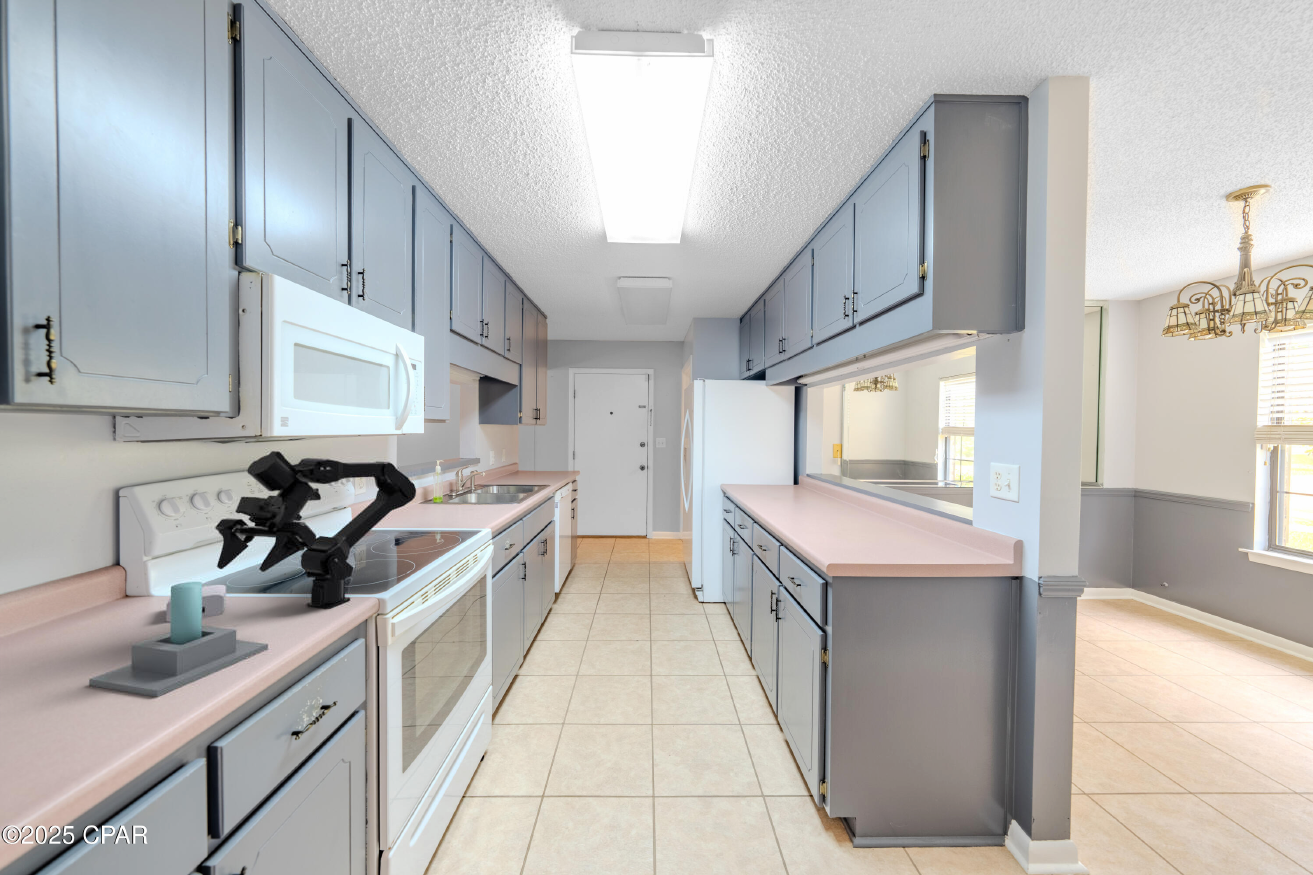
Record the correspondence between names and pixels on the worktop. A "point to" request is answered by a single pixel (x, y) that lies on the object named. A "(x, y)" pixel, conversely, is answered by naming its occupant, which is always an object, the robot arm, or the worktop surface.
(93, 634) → the worktop surface
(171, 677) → the socket holder
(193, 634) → the peg
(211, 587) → the charger
